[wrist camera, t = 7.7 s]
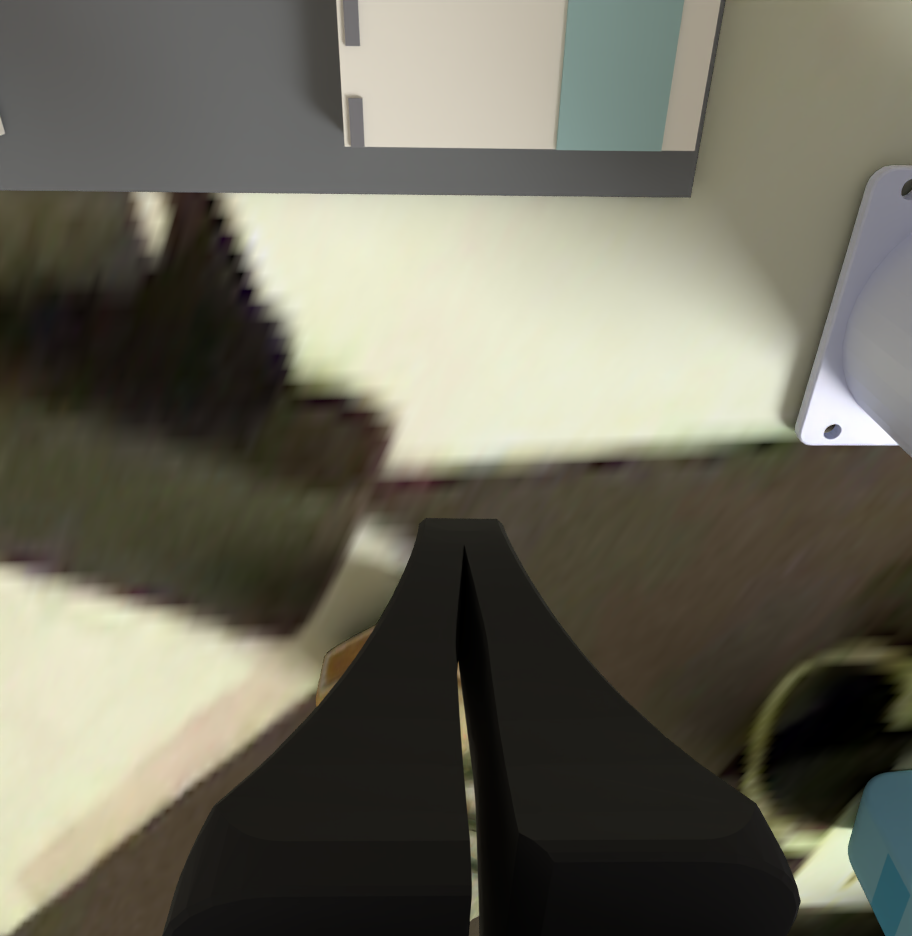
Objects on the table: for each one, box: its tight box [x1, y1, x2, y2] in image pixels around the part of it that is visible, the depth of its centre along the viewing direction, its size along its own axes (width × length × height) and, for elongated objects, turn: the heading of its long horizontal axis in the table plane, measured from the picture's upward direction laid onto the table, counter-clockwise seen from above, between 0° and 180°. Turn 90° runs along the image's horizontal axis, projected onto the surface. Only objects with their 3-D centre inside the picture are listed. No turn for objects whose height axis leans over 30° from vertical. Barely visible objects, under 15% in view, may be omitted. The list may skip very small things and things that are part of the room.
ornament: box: [316, 625, 479, 921], centre depth 24 cm, size 8×6×10 cm
